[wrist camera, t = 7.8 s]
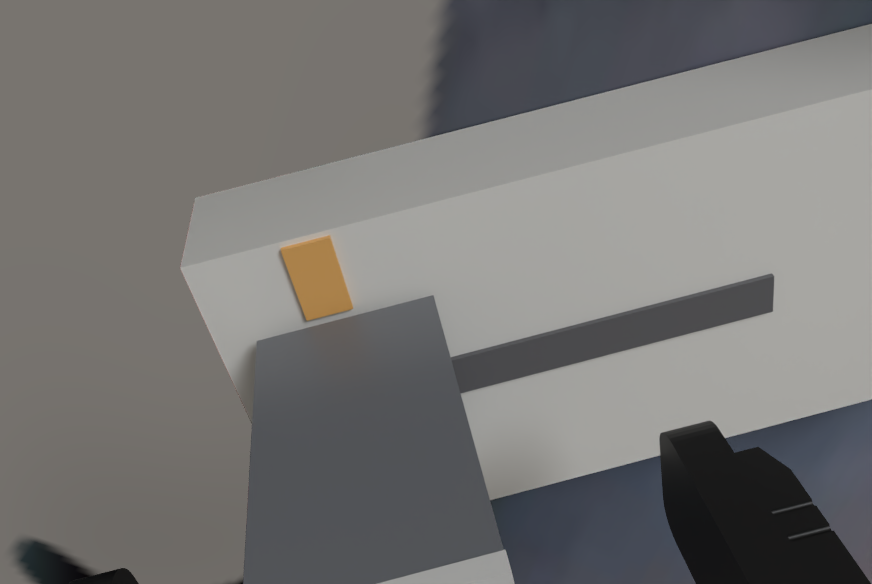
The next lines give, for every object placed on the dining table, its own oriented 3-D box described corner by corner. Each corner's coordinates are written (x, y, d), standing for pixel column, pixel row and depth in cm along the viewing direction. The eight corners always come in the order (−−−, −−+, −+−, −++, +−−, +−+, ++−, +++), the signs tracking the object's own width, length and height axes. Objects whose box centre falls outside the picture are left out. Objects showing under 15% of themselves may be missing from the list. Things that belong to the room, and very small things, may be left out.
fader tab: (434, 293, 13) (512, 571, 9) (476, 462, 16) (555, 753, 11) (255, 340, 13) (237, 644, 9) (324, 502, 16) (338, 812, 11)
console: (1034, -18, 15) (1213, 33, 12) (970, 286, 19) (1094, 380, 16) (195, 197, 15) (172, 302, 12) (306, 461, 19) (309, 589, 16)
